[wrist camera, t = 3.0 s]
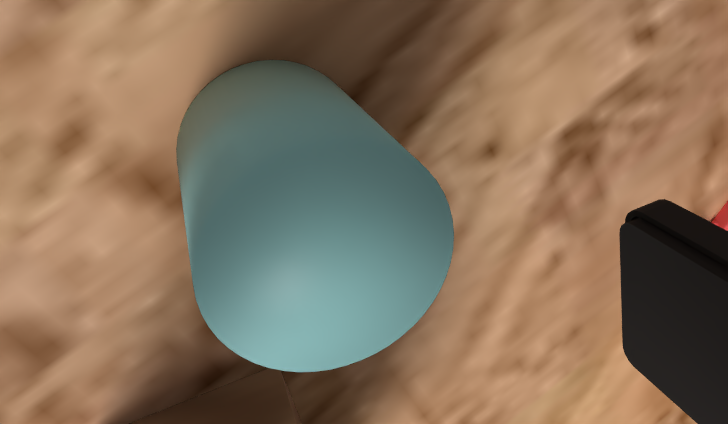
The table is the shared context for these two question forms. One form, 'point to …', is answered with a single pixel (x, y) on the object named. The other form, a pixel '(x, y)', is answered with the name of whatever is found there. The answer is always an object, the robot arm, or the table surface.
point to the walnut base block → (235, 404)
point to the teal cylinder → (305, 220)
